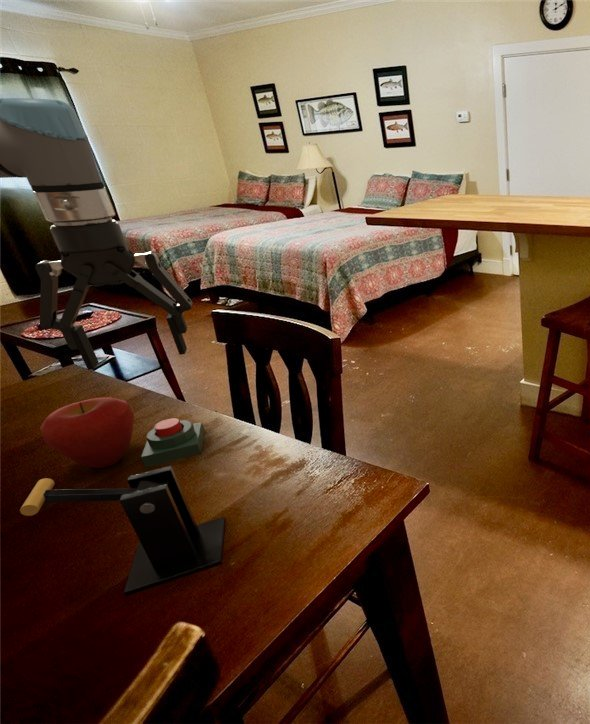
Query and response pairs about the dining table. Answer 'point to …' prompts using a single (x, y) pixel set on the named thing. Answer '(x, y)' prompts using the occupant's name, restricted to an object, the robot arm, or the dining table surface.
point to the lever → (76, 494)
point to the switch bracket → (168, 533)
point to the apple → (91, 431)
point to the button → (168, 427)
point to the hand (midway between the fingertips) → (139, 358)
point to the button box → (174, 444)
